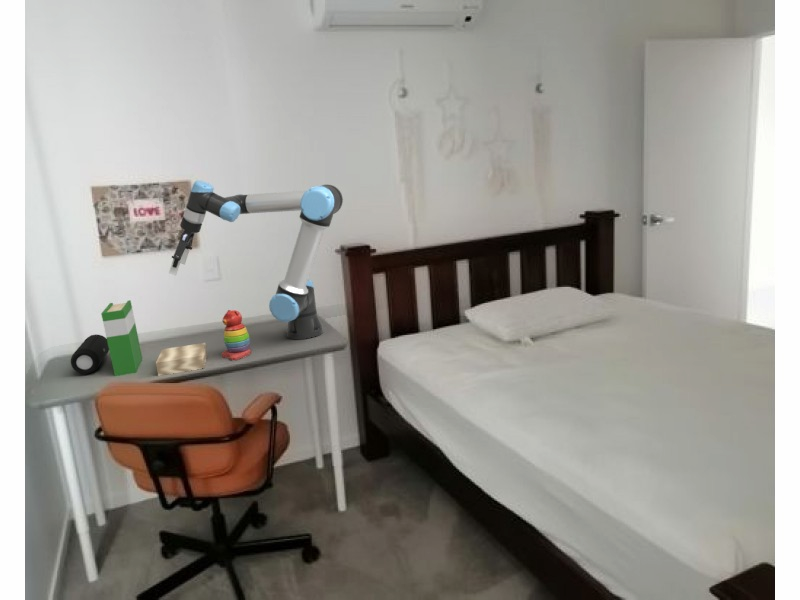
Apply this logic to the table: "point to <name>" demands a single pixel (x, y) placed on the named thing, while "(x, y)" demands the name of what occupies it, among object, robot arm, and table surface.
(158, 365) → the wooden block
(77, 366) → the portable speaker
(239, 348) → the stacking bear
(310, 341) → the table surface
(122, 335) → the hardback book
